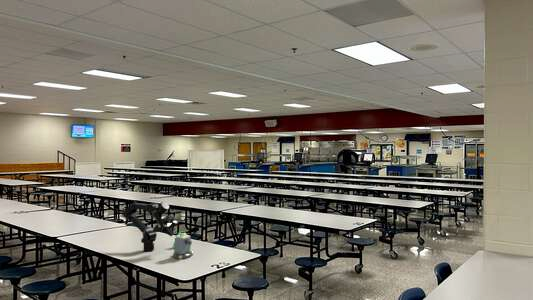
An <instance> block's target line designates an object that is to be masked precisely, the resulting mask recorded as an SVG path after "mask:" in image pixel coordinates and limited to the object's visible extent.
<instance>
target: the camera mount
mask: <svg viewBox="0 0 533 300" xmlns="http://www.w3.org/2000/svg"><path fill="white" fill-rule="evenodd" d="M183 233H184V232H178V233H177V234H176V236H177V235H180V234H183ZM192 243H193V242H192ZM192 243H191V245H190V246H192ZM172 246H173V248H174V247H175V241H174V242H173V245H172Z"/></svg>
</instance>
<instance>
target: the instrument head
mask: <svg viewBox="0 0 533 300" xmlns="http://www.w3.org/2000/svg"><path fill="white" fill-rule="evenodd" d="M182 233H183V234H180V235H177V234H176V235H175V237H174V242H175V247H173V248H174V250H173V254H174V253H178V254H184V253H187V252H190V251H191V246H192V245H191V243H193V242H192V240H191V239H192V238H191V235H188V234H187V233H186V232H182Z"/></svg>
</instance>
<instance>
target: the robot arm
mask: <svg viewBox="0 0 533 300" xmlns="http://www.w3.org/2000/svg"><path fill="white" fill-rule="evenodd" d="M169 209H170V205H169V204H168V203H166V202H164V201H161V202H160V203H150V204H146V203H138V202H133V203H131V204H130V205H129V206H128V207H126V208H125V209H124V210H123V212H122V217H123V218H124V219H126V220H128V221H130V222H132V224H133V225H135V226H136V227H137V229H138V230H139V231H140V232H141V233H142V238H141V244H143V250H142V252H146V253H147V252H153V251H154V250H155V241H156V239H157V233H158V231H159V230H161V231H160V232H161V233H163V234H165V235H168V236H170V237H173V235H174V234H173V230H172V229H174V228H175V227H176V226H177V224H178V221H177V220H175V219H174V218H175V216H174V214H172V213H171V214H169V215H167V216H166V215H164V214H166V212H167V211H168V210H169ZM138 210H141V211H146V212H147V213H151V216H150V218H154V220H156V225H155V226H154V227H150V228H149V227H147V225H146V224H145V223H144V222H143V221H142V220H141V219H140V218H139V217H138V216H137V214H138V213H137V212H138Z"/></svg>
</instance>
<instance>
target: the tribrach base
mask: <svg viewBox="0 0 533 300" xmlns="http://www.w3.org/2000/svg"><path fill="white" fill-rule="evenodd" d="M192 256H194V251H191V250H190V252H187V253H184V254H178V253H174V252H173V254H172V258H173V259H175V260H178V261H181V260H186V259H187V260H188V259H190V258H191V257H192Z"/></svg>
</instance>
